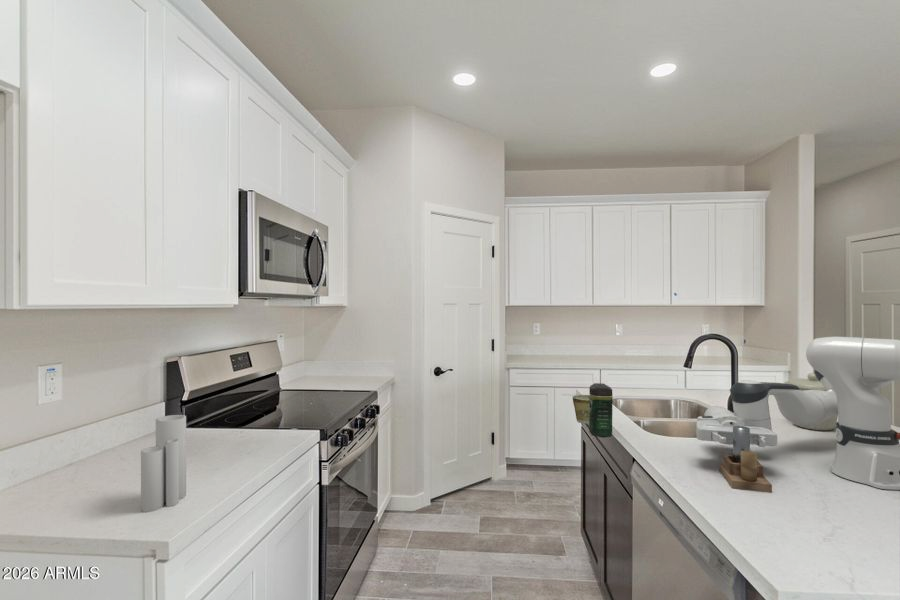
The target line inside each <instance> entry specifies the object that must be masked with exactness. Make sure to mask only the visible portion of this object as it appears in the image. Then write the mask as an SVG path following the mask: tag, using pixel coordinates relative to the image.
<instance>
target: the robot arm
mask: <svg viewBox="0 0 900 600" xmlns="http://www.w3.org/2000/svg"><path fill="white" fill-rule="evenodd" d="M805 355H806V356H805V357H806V360H807V362H808V364H809V365H810V366H811V368H813V369H814V372H813V373H815V376H816V377H817V379H818V380H819V381H821V383H822V384H823V385H824V387H825V388H826V389H827V391H823V390H804V391H801V390H800V389H799V387H798V386H796V385H792V384H785V382H766V381H765V382H764V381H756V380H750V379H749V380H748V379H745V380H740V381H736V382H735V383H734V384H732V386H731V387H730V388H729V393H730V397H731V401H732V408H733V412H732V411H731V410H729V409H727V408H726V407H723V406H720V405H712V406H709V407H708V408H707V409H706V410H705V412H704V414H703V415H704V416H703V415H702V416H701V415H700V416H697V417H696V418H697V420H696V426H695V427H696V433H695V434H696V439H697V440H699V441H706V442H716V443H717V442H718V443H719V444H722V445H723V444H724V445H729V446H733V426H744V427H748V428H750V445H754V446H758V447H761V448H765V447H767V446H768V447H776V446H777V445H778V434H777V433H776V432H775V431H773V428H772V427H773V426H772V421H771V418H772V417H771V411H770V404H769V396H773V397H774V399H775V402H776V404H777V407H778V410H779V413H780V414H781V415H782V417H784V419H786V420H787V421H788V422H789V423H792V424H794V425H795V424H796V425H795V426H797V425H801V426H807V425H813V424H817V423H820V422H823V421H825V420H827V419H829V418H831V417H832V416H834V415H835V414H837V413H838V417H837V423H836V426H835V439H836V440H835V441H836V449H835V450H836V451H835V455H834V459H833V463H832V466H831V467H830V471H831V472H832V473H833V474H834V475H836V476H839V477H841V478H843V479H846V480H850V481H853V482H855V483H861V484H864V485H868V486H871V487H874V488H877V489H881V490H891V491H893V490H894V491H900V432H898V431H896V430H894V429H892V405H891V401H890V400H889V399H888V398H887V397H886V396H885V395H883V394H881V393H880V391H878V388H884V387H886V386H887V387H888V386H890V385H891V384H892V383H893V382H894V381H900V339H892V338H876V337H874V338H872V337H871V338H870V337H851V336H825V337H816V338H814V339H812V340H811V341H810V343H809V344H808V346H807V347H806V351H805Z"/></svg>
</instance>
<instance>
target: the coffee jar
mask: <svg viewBox="0 0 900 600" xmlns="http://www.w3.org/2000/svg"><path fill="white" fill-rule="evenodd" d="M588 395H589V397H590V406H589V424H588V426H589V427H588V429H589V433H590V435H591V436H593V437H598V438H603V439H604V438H611V437H612V436H613V389H612V387H610V386H608V384H607V385H606V384H605V383H602V382H601V383H599V382H597V383H596V382H594V383H593V384H591V385H590V386H589V393H588Z"/></svg>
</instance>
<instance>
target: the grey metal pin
mask: <svg viewBox="0 0 900 600" xmlns="http://www.w3.org/2000/svg"><path fill="white" fill-rule="evenodd" d="M741 451H751V444H750V428H748V427H744V426H733V445H732V455H733V463H741Z"/></svg>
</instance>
